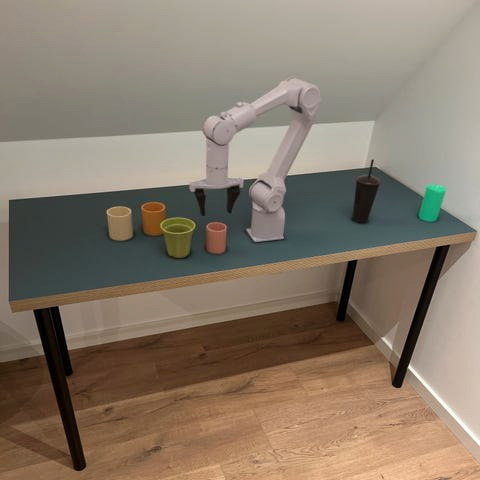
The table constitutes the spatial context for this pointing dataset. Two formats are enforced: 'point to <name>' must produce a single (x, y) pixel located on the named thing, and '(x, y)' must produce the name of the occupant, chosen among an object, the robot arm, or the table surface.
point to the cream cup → (120, 223)
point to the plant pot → (178, 236)
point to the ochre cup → (153, 218)
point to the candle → (432, 202)
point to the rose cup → (216, 237)
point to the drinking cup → (364, 196)
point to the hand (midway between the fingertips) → (215, 213)
